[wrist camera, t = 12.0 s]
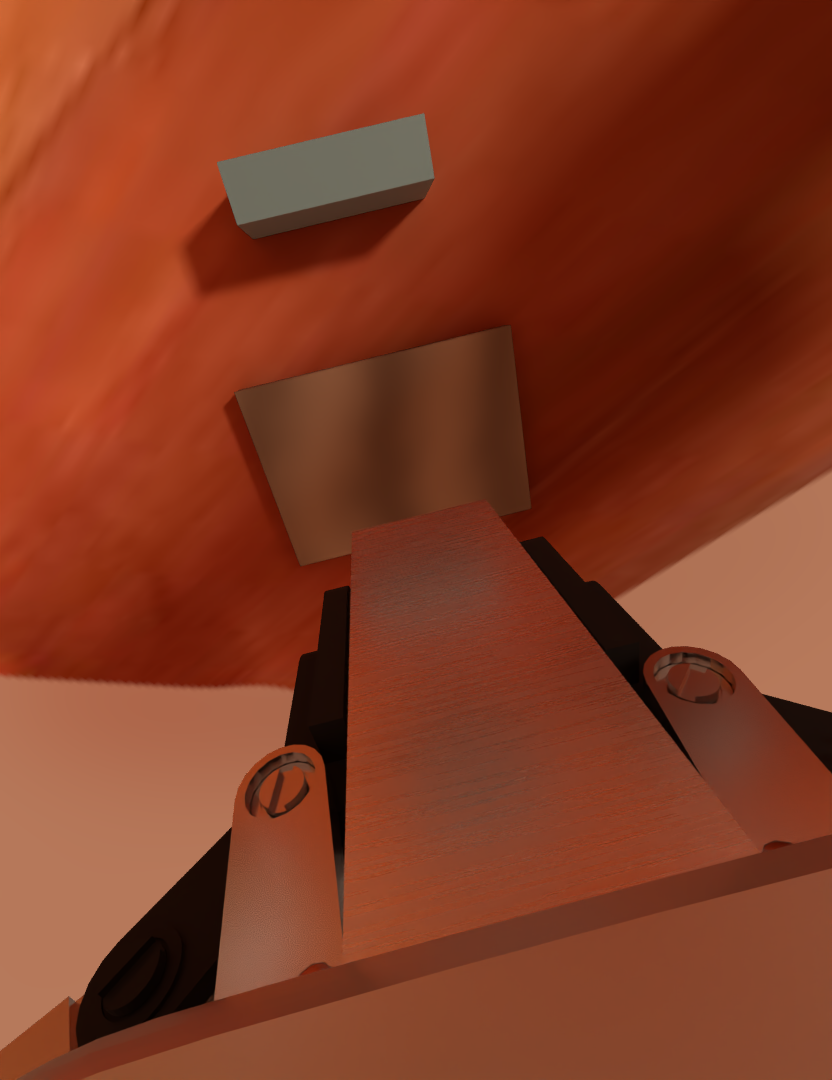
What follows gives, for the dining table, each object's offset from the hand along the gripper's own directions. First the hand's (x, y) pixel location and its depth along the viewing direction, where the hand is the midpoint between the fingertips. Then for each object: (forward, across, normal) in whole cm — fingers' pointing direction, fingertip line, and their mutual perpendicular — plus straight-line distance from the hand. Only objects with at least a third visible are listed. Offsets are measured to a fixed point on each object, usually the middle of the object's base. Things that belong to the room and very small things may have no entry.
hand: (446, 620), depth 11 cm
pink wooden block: (+2, 0, +1) cm, 3 cm away
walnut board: (+16, 0, 0) cm, 16 cm away
